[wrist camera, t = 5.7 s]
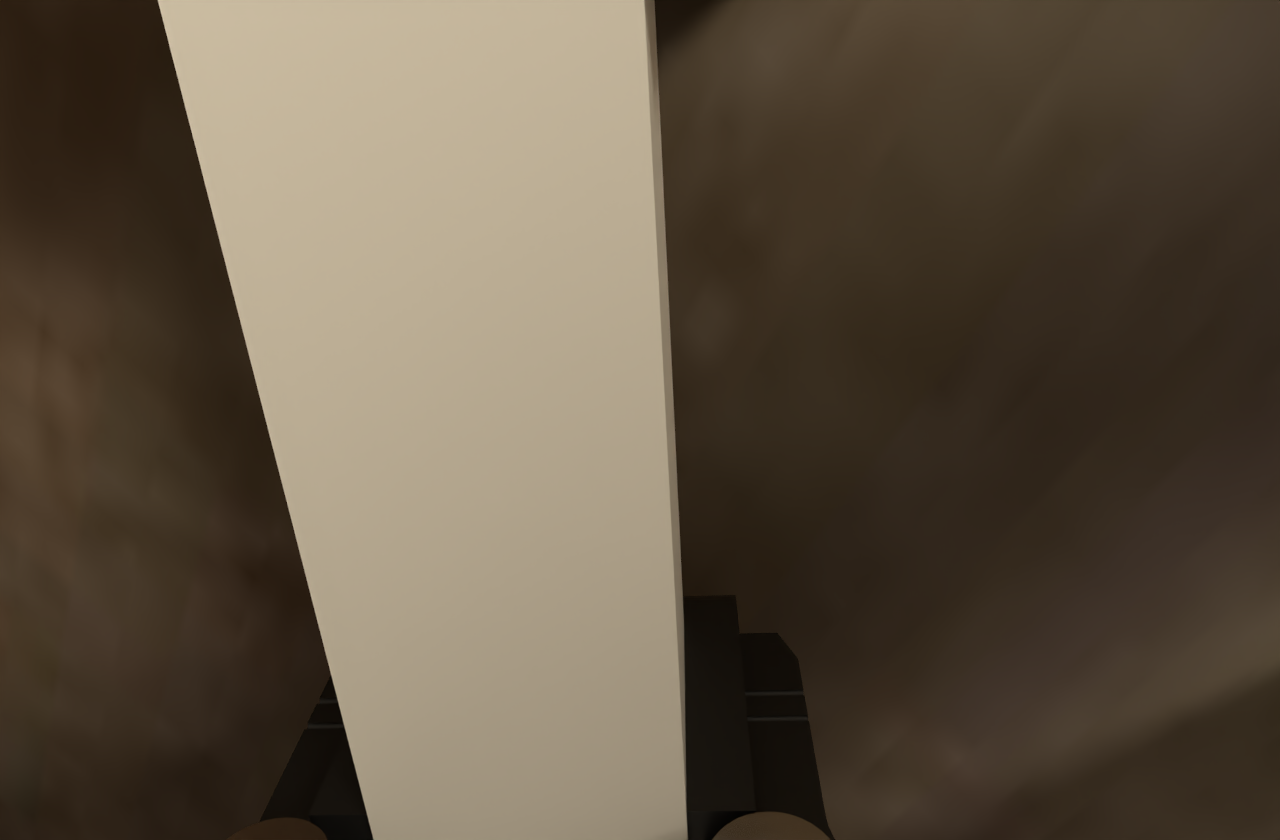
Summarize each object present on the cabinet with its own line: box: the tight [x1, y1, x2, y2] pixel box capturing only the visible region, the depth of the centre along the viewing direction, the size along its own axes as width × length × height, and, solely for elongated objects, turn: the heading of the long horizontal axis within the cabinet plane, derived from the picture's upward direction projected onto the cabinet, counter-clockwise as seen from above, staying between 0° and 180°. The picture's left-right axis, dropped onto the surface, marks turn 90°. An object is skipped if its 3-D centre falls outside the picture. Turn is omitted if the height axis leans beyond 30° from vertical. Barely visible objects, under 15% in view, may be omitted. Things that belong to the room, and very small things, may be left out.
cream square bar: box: [158, 0, 688, 840], centre depth 9 cm, size 18×3×3 cm, turn 3°
